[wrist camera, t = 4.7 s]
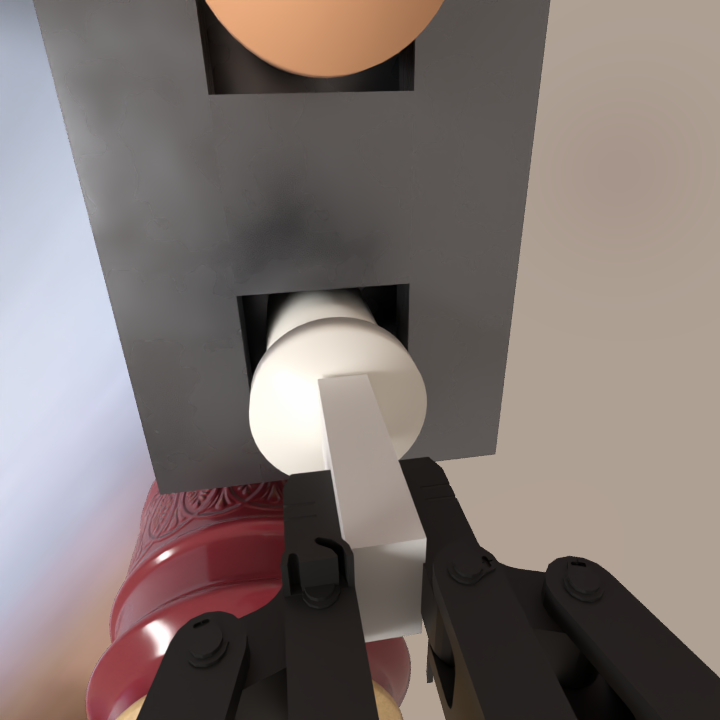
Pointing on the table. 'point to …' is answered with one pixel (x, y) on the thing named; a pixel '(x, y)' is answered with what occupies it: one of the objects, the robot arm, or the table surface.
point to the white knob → (327, 375)
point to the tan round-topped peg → (324, 31)
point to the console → (298, 208)
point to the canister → (206, 590)
